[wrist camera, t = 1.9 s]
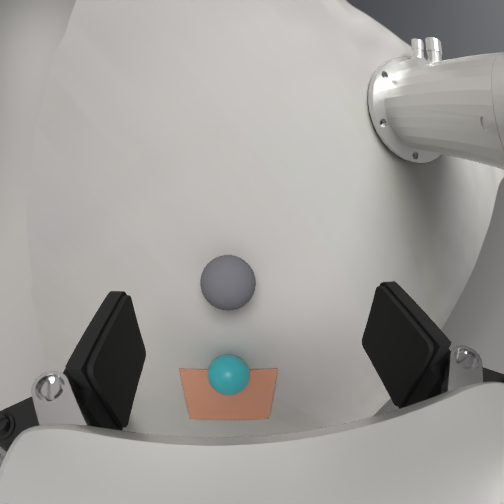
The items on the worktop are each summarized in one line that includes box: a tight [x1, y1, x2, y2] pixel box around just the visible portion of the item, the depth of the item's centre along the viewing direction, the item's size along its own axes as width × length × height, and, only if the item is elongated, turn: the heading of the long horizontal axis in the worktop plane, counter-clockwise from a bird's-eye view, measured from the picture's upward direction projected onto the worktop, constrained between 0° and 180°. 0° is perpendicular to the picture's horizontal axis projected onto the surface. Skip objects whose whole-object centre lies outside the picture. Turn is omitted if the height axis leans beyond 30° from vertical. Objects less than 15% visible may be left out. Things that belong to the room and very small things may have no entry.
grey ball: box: [201, 255, 256, 310], centre depth 27 cm, size 6×6×6 cm
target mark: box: [179, 369, 278, 420], centre depth 39 cm, size 14×14×1 cm
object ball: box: [207, 355, 250, 395], centre depth 33 cm, size 6×6×6 cm
